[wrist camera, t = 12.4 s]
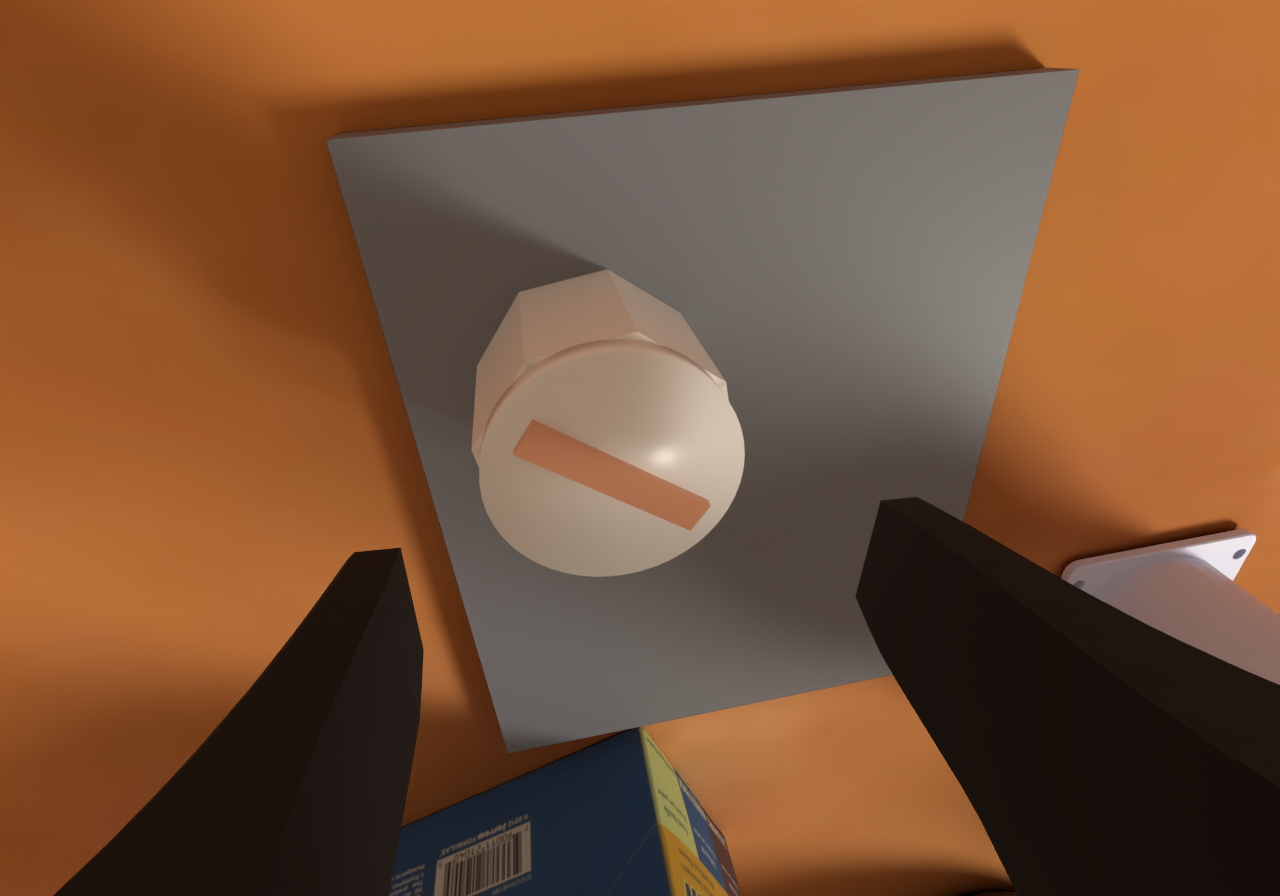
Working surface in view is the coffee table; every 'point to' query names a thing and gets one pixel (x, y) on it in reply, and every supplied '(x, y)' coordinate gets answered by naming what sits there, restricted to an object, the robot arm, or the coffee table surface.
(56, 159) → the coffee table surface
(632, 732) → the protein box
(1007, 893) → the ceramic vessel
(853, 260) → the base
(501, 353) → the cap
